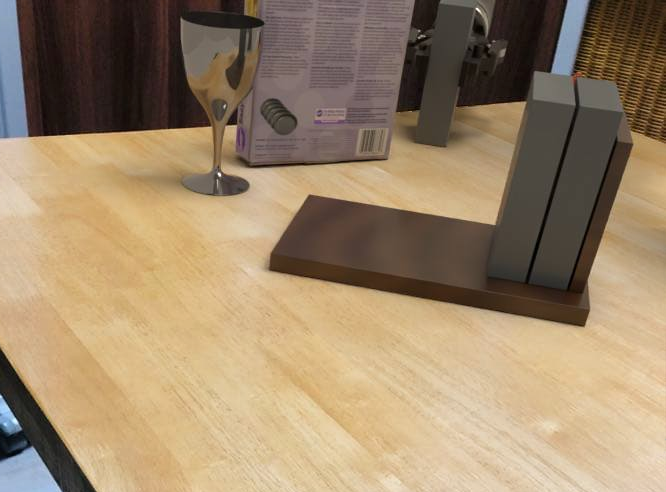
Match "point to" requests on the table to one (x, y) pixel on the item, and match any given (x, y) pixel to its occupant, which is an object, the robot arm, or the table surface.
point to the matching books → (554, 178)
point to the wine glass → (220, 80)
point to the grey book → (444, 71)
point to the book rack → (437, 251)
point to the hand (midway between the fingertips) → (443, 71)
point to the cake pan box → (324, 80)
